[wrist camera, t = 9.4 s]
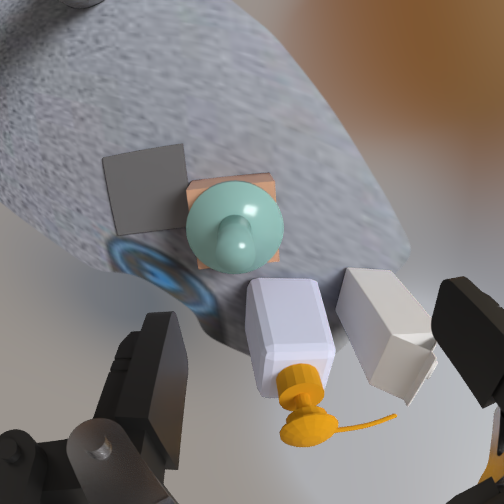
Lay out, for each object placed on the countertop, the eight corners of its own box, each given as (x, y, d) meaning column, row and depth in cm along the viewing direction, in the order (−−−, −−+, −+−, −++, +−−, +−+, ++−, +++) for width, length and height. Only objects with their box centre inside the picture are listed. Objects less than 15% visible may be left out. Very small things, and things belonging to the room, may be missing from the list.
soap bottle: (335, 330, 46) (384, 451, 26) (244, 331, 45) (253, 468, 25) (347, 275, 42) (421, 395, 22) (247, 273, 41) (261, 414, 21)
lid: (180, 186, 31) (167, 205, 25) (279, 176, 31) (291, 192, 25) (195, 273, 35) (187, 309, 29) (284, 264, 36) (295, 298, 29)
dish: (192, 180, 36) (186, 190, 31) (269, 172, 36) (274, 181, 32) (202, 251, 40) (198, 269, 35) (274, 243, 40) (279, 261, 35)
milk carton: (334, 309, 45) (380, 410, 27) (346, 266, 42) (407, 361, 25) (376, 310, 45) (432, 401, 28) (390, 269, 43) (461, 354, 25)
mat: (103, 157, 34) (102, 158, 34) (183, 143, 34) (182, 143, 34) (118, 234, 38) (117, 235, 38) (194, 225, 38) (193, 226, 38)
